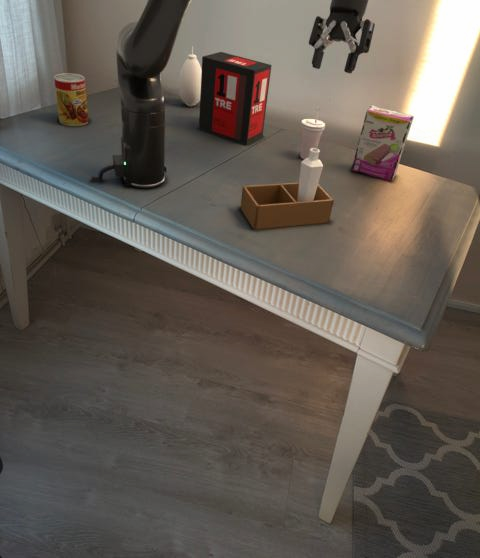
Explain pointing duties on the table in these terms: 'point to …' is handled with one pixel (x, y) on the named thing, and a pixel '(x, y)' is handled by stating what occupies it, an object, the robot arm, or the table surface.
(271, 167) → the table surface
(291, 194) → the divided tray
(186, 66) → the sauce bottle
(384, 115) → the candy bar box
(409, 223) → the table surface
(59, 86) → the canned food
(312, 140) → the smoothie
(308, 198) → the perfume bottle
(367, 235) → the table surface
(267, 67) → the cleaning product box
